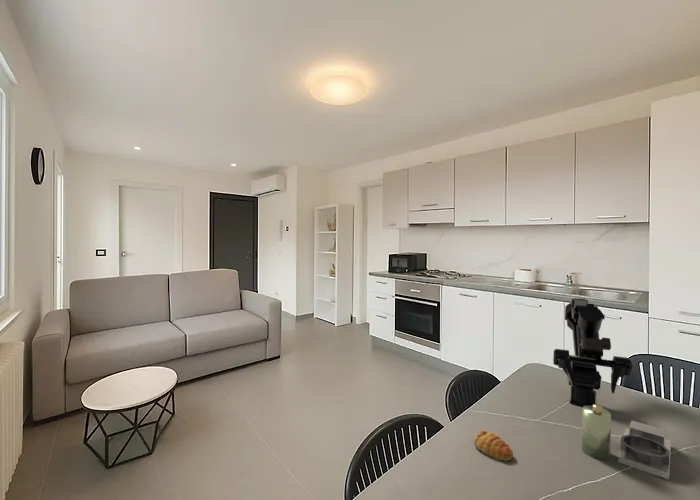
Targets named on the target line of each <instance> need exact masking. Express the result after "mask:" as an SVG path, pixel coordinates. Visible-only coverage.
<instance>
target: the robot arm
mask: <svg viewBox="0 0 700 500" xmlns="http://www.w3.org/2000/svg"><path fill="white" fill-rule="evenodd" d="M564 308H565V309H564V320H565V321H566V324H567V325H566V326H567V327H568V329H570V330H571V331H572V339H573V340H572V341H573V353H574V355H573V354H572V355H571V354H570V351H569V349H568V350H567V349H562V348H561V349H560V348H555V349H554V350H553V357H552V358H553V359H552V361H553V365H554V366H557V367H558V368H559V369H562V370H563V372H564V373H565V375H566V376H567V383H568V385H569V386H570V400H569V404H572V405H575V406H578V407H579V406H580V407H582V408H583V406H587V405H590V406H593V404H597V401H598V400H597V397H598V395H597V393H598V392H597V391H599V390H600V389H601V383H602V375H601V374H600V371H599V370H598V369H597V367H598V366H599V367H605V368H611V373H610V390H611V393H612V394H615V391H616V387H617V385H618V381H619V379H620V378H625V377H626V376H629V375H630V374H631V371H632V369H633V361H632V360H631V359H630V358H629V357H627V356H626V357H625V356H624V357H623V356H619V355H618V356H616V355H613V357H612V360H610V359H605V358H603V357H604V351H611V348H612V343H611V338H610V337H609V338H608V337H602V338H601V339H600V333H599V332H600V331H601V327H602V324H603V323H602V322H603V320H605V318H606V317H605V314H604V312H603V311H602V310H601V309H599V306H597V305H595V304H594V303H589V300H588V299H586V298H577V297H576V298H575V297H574V298H571V301H570V303H569V304H567V305H565V307H564ZM596 390H597V391H596Z"/></svg>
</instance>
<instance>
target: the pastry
mask: <svg viewBox="0 0 700 500" xmlns="http://www.w3.org/2000/svg"><path fill="white" fill-rule="evenodd" d="M474 446H475V447H476V448H477V450H478V451H480V452H482V453H483V454H484V455H487V456H489V457H492V458H494V459H497V460H499V461H505V462H507V461H510V460H512V458H513V455H514V452H513V450H512V449H511V448H510V446H509V445H508V444H507V443H506V442H505V441H504V440H502V439H501V437H500V436H499V435H496V434H495V433H494V432H488V431H487V430H480V431H479V432H478V433H477V434H476V436H475V438H474Z"/></svg>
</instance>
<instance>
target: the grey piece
mask: <svg viewBox="0 0 700 500" xmlns="http://www.w3.org/2000/svg"><path fill="white" fill-rule="evenodd" d="M665 432H666V430H665V429H663V428H660V427H656V426H652V425H650V424H646V423H643V422H638V421H636V420H630V425H629V428H628V427H626V428H625V430H624V434H623V435H622V436H621V437H620V449H619V452H618V456H617V462H618V463H620V464H622V465H626V466H627V467H628V466H629V467H631V468H634V469H637V470H640V471H642V472H645V473H647V474H651V475H654V476H657V477H660V478H663V479H665V480H668V481H670V472H671V470H670V469H671V446H672V445H671V443H672V441H671V440H670V439H665V436H666V435H665Z"/></svg>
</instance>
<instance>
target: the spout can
mask: <svg viewBox="0 0 700 500" xmlns="http://www.w3.org/2000/svg"><path fill="white" fill-rule="evenodd" d="M581 416H582V420H581V421H582V423H581V424H582V425H581V426H582V428H581V436H582V437H581V450H582V452H583V453H584V454H586V455H587V456H588V457H591V458H594V459H597V460H603V461H606V460H610V459H611V438H612V437H611V435H612V434H611V433H612V431H611V430H612V413H611V412H610V411H609V410H607V409H606V408H604V407H603V405H601V404H598V403H596V404H593V406H590V405H587V406H583V407H582V415H581Z"/></svg>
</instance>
